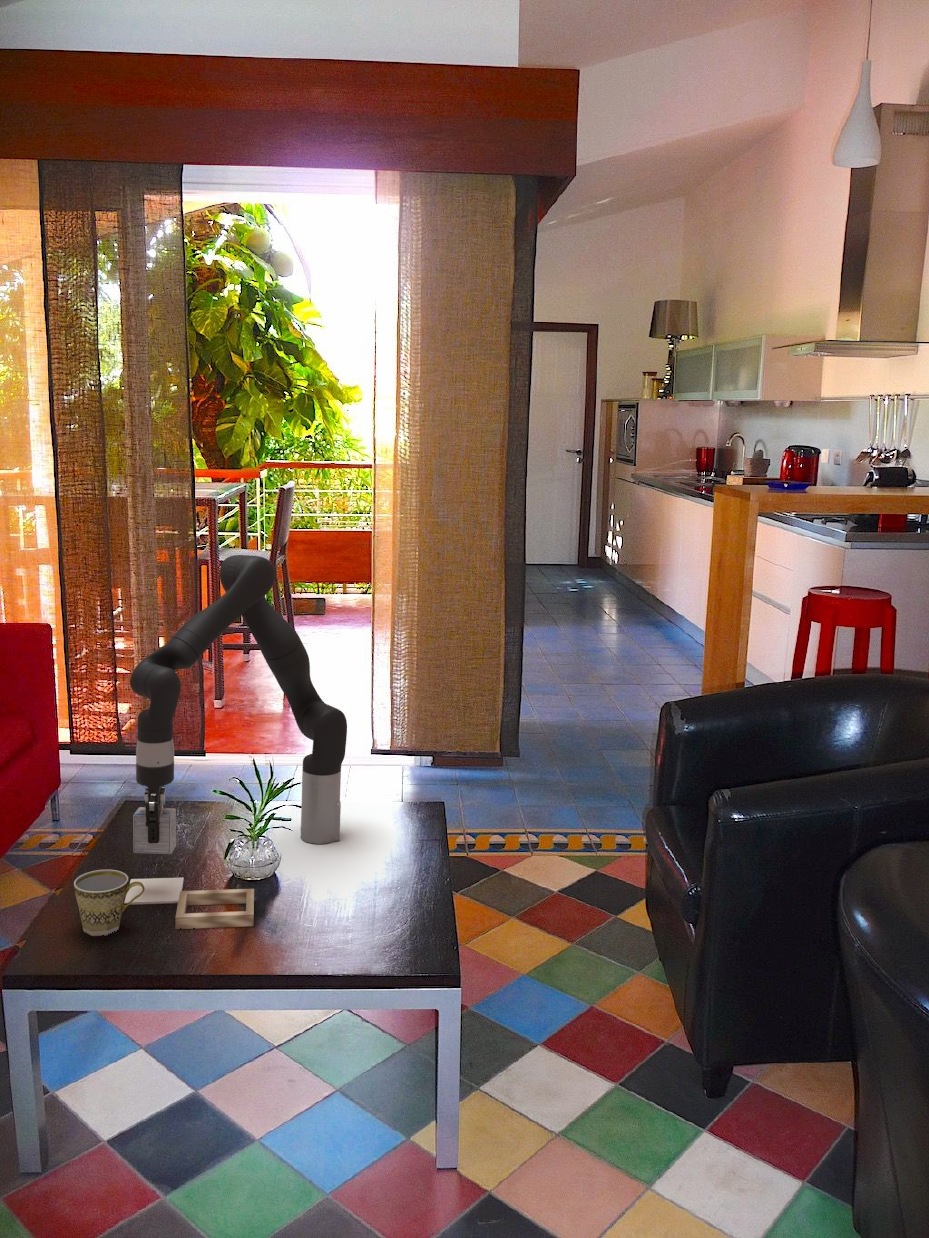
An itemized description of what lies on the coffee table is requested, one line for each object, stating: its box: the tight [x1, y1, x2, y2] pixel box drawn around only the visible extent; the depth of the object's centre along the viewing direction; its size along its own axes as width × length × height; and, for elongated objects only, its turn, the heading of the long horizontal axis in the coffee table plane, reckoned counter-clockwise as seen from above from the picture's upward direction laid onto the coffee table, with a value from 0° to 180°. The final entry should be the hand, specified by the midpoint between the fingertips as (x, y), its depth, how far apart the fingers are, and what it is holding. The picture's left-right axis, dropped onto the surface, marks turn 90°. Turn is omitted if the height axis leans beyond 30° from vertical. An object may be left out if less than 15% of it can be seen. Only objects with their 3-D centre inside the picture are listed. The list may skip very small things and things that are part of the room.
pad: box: [124, 876, 185, 906], centre depth 214 cm, size 11×11×1 cm
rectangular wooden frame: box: [174, 888, 255, 930], centre depth 206 cm, size 15×12×2 cm
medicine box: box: [132, 806, 177, 855], centre depth 212 cm, size 8×4×9 cm, turn 92°
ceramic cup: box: [73, 869, 144, 937], centre depth 197 cm, size 13×10×10 cm
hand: (155, 836), depth 212 cm, fingers closed on medicine box, 5 cm apart
